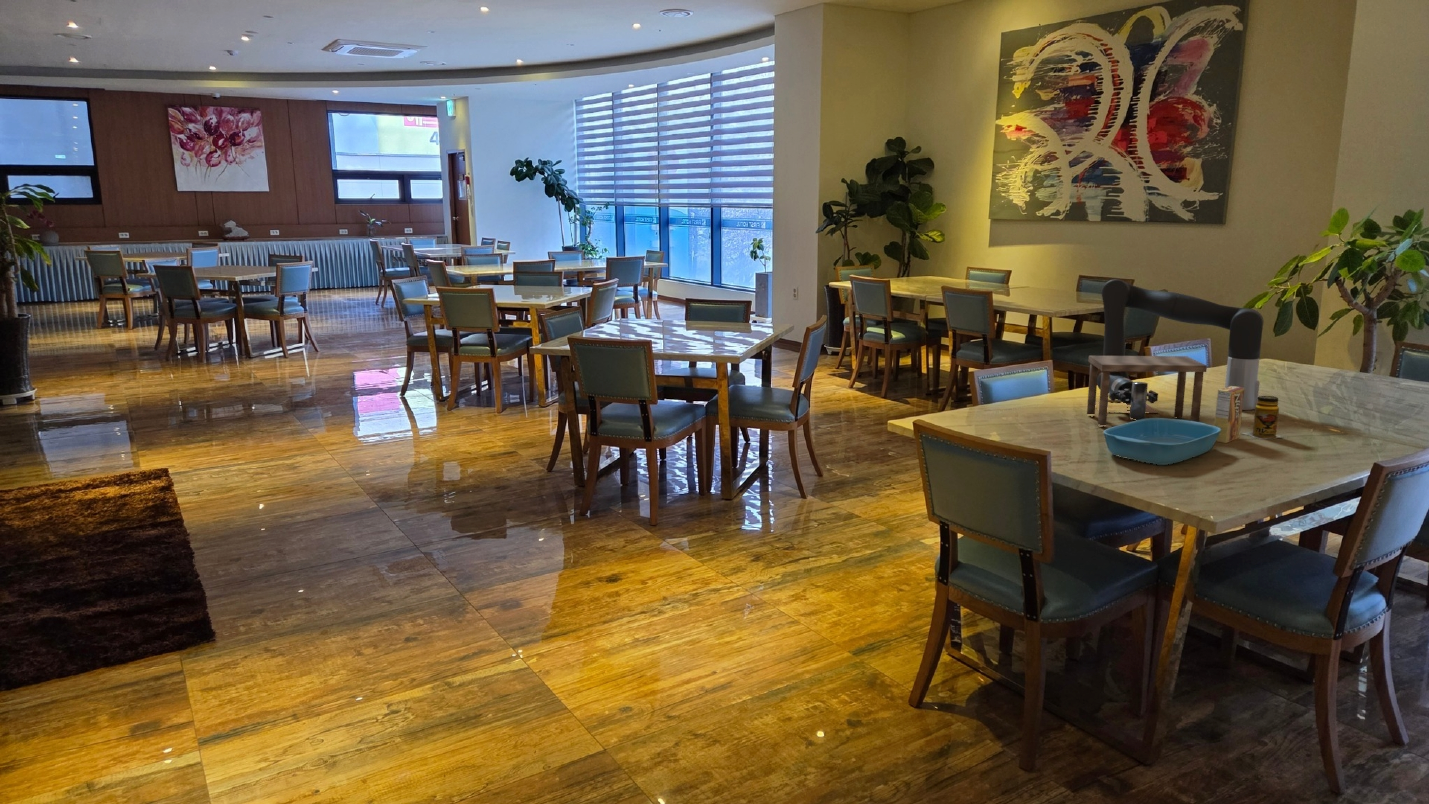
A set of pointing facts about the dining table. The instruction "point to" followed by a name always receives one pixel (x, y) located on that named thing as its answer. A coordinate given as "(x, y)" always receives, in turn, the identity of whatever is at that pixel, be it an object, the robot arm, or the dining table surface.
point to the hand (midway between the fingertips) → (1138, 400)
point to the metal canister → (1138, 400)
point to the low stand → (1145, 365)
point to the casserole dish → (1161, 440)
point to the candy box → (1229, 413)
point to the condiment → (1265, 418)
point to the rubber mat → (1148, 409)
